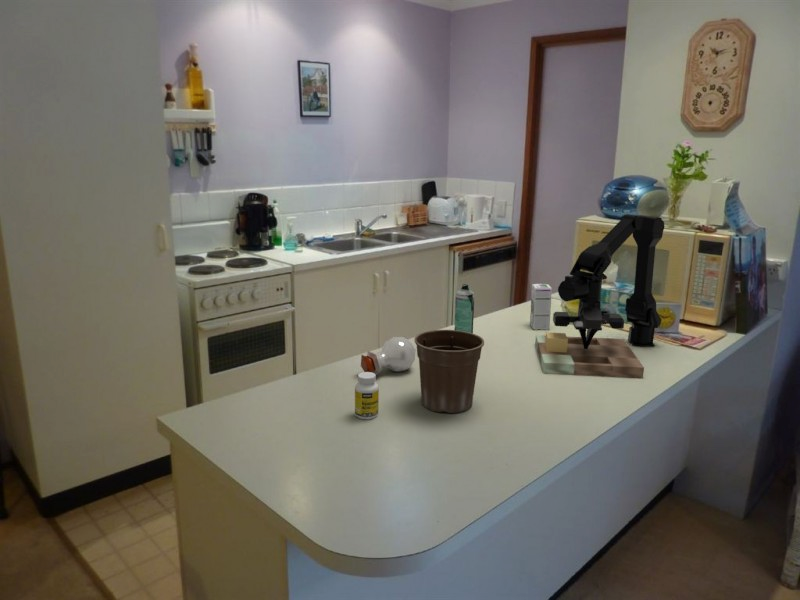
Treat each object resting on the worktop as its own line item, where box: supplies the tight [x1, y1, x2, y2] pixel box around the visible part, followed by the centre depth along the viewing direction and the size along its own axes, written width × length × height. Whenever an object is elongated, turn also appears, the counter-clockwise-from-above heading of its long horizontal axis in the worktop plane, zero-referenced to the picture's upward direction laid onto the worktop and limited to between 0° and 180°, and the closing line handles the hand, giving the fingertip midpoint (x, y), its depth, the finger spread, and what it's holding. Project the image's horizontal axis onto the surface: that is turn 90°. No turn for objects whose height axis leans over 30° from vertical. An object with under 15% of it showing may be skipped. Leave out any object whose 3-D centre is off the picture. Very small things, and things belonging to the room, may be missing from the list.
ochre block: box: [544, 331, 568, 353], centre depth 177 cm, size 6×6×4 cm
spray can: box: [453, 283, 475, 334], centre depth 183 cm, size 6×6×20 cm
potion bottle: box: [360, 336, 417, 375], centre depth 167 cm, size 9×10×15 cm
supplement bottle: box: [354, 371, 380, 420], centre depth 141 cm, size 5×5×10 cm
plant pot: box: [413, 329, 485, 414], centre depth 146 cm, size 16×16×16 cm
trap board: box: [534, 334, 645, 379], centre depth 177 cm, size 26×24×3 cm
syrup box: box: [529, 283, 553, 331], centre depth 206 cm, size 6×6×14 cm
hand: (585, 348), depth 177 cm, fingers closed
